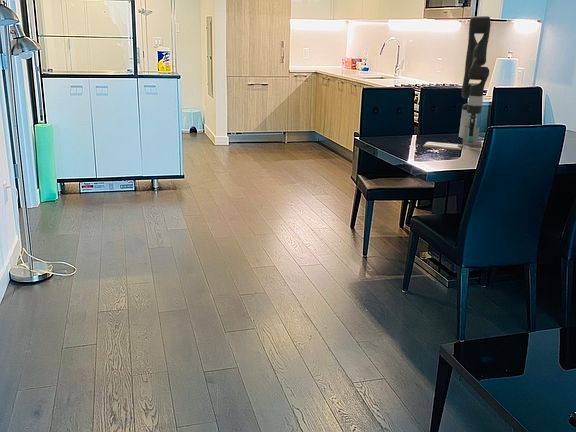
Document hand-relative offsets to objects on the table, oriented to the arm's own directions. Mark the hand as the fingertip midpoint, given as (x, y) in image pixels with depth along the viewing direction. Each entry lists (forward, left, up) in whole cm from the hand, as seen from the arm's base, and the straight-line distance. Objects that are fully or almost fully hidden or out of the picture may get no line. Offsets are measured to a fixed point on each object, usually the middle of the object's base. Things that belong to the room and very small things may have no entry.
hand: (471, 135), depth 312 cm
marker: (0, 0, -4) cm, 4 cm away
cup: (-15, -1, -7) cm, 16 cm away
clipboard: (+3, -14, -7) cm, 16 cm away
